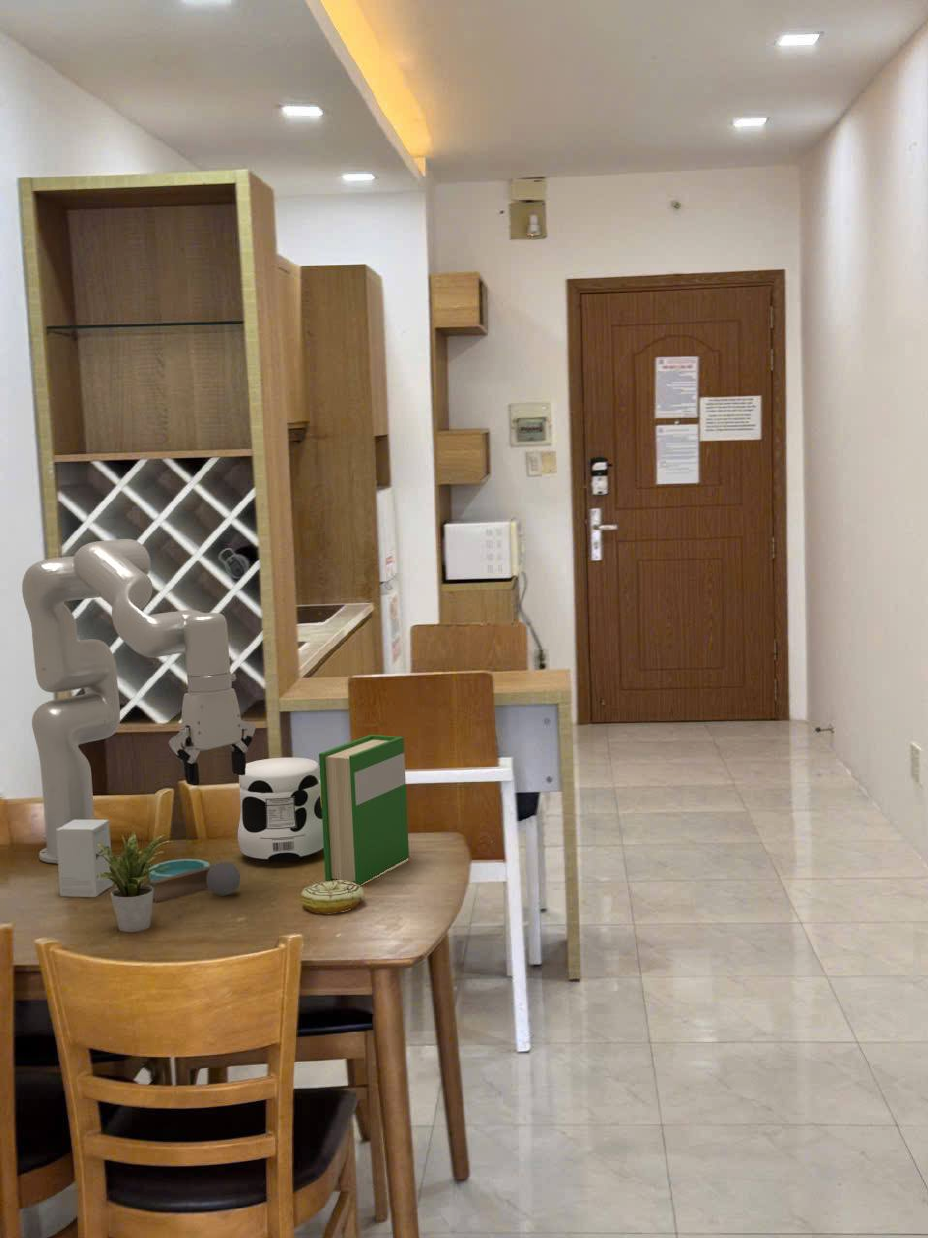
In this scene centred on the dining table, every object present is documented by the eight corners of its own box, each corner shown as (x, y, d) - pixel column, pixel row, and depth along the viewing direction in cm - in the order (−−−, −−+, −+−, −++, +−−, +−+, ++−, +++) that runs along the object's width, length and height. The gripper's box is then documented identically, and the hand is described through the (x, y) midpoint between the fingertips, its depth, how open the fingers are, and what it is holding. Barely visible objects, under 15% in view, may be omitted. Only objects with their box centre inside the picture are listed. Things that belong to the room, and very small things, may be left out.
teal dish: (138, 881, 270) (137, 869, 270) (189, 867, 278) (188, 855, 277) (170, 892, 262) (169, 880, 262) (221, 878, 270) (220, 866, 270)
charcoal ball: (200, 895, 260) (198, 863, 259) (228, 888, 264) (226, 855, 263) (219, 902, 255) (217, 869, 255) (247, 894, 259) (245, 861, 259)
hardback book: (360, 887, 261) (353, 756, 258) (325, 882, 265) (318, 753, 262) (409, 860, 277) (403, 737, 274) (376, 856, 280) (370, 734, 277)
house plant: (195, 930, 241) (189, 834, 239) (115, 948, 234) (108, 849, 232) (164, 909, 253) (158, 817, 251) (86, 925, 245) (79, 831, 244)
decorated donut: (376, 904, 252) (375, 883, 251) (330, 921, 244) (329, 899, 243) (336, 893, 259) (335, 873, 258) (290, 909, 251) (289, 887, 250)
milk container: (290, 839, 295) (285, 752, 293) (346, 853, 283) (341, 763, 281) (220, 858, 283) (215, 768, 281) (276, 874, 271) (271, 780, 269)
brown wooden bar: (151, 901, 258) (150, 882, 257) (222, 881, 268) (221, 863, 267) (156, 903, 257) (155, 883, 256) (227, 883, 267) (226, 864, 266)
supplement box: (97, 898, 261) (92, 829, 259) (59, 897, 262) (54, 829, 261) (114, 885, 268) (110, 818, 267) (77, 884, 270) (72, 818, 268)
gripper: (238, 675, 263) (244, 768, 265) (155, 689, 252) (162, 786, 253) (262, 678, 258) (268, 773, 260) (178, 692, 246) (185, 791, 248)
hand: (216, 779), depth 257 cm, fingers open, 9 cm apart
